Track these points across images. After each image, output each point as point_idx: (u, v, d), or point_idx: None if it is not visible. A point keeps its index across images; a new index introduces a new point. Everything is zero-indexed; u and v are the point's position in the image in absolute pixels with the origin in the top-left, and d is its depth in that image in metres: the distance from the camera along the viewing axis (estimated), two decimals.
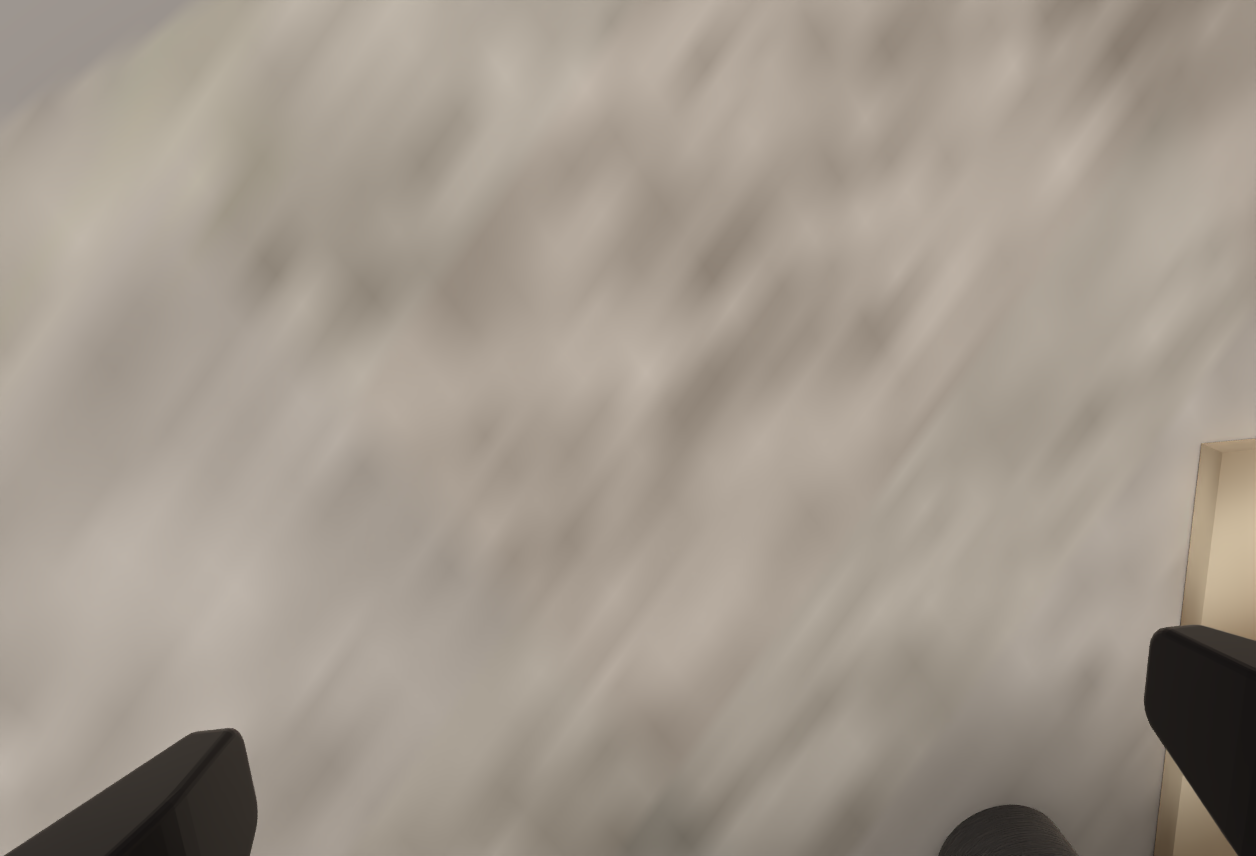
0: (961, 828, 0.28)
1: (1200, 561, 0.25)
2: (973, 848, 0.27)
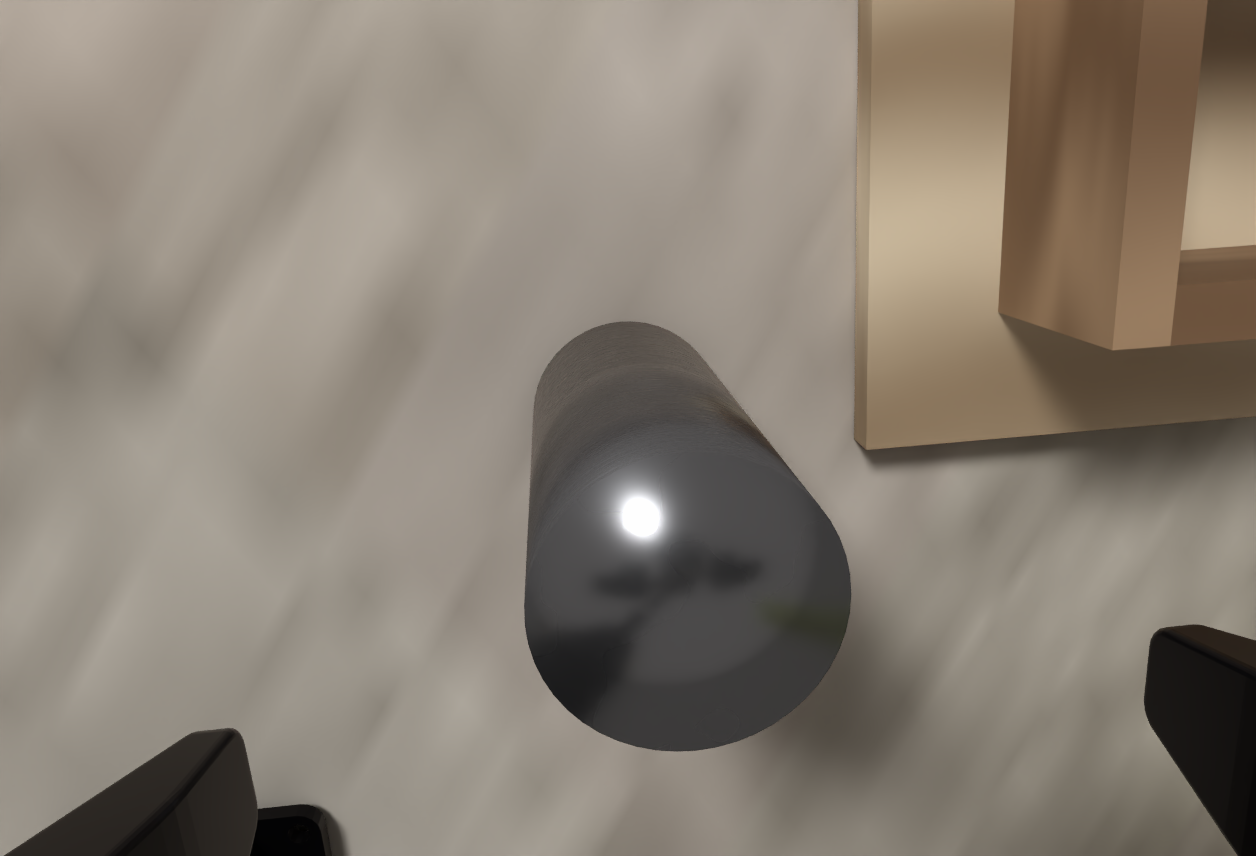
0: (559, 352, 0.19)
1: None
2: (559, 361, 0.18)
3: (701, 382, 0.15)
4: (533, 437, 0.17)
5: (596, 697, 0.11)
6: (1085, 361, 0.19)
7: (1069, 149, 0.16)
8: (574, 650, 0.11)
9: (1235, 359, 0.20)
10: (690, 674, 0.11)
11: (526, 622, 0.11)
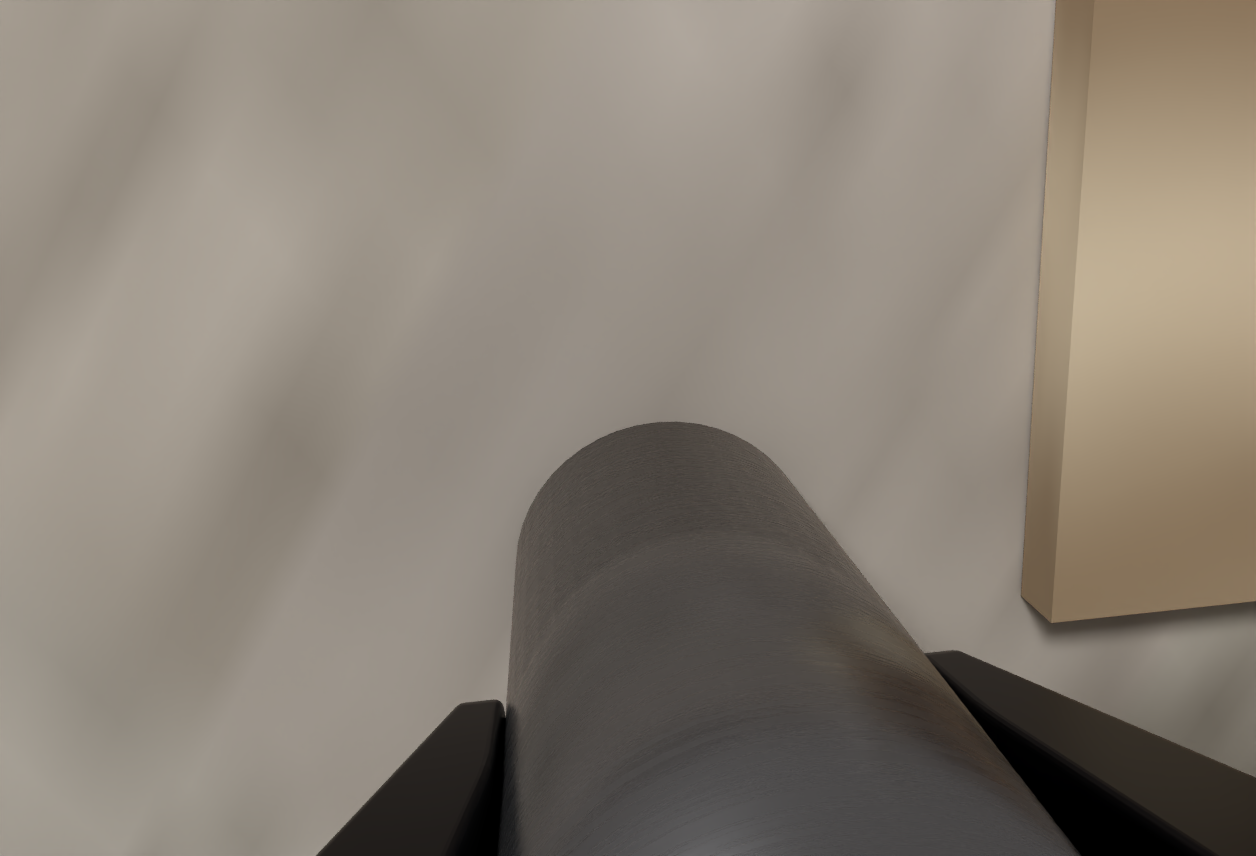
0: (557, 473, 0.12)
1: None
2: (557, 497, 0.11)
3: (845, 606, 0.07)
4: (510, 659, 0.09)
5: None
6: None
7: None
8: None
9: None
10: None
11: None
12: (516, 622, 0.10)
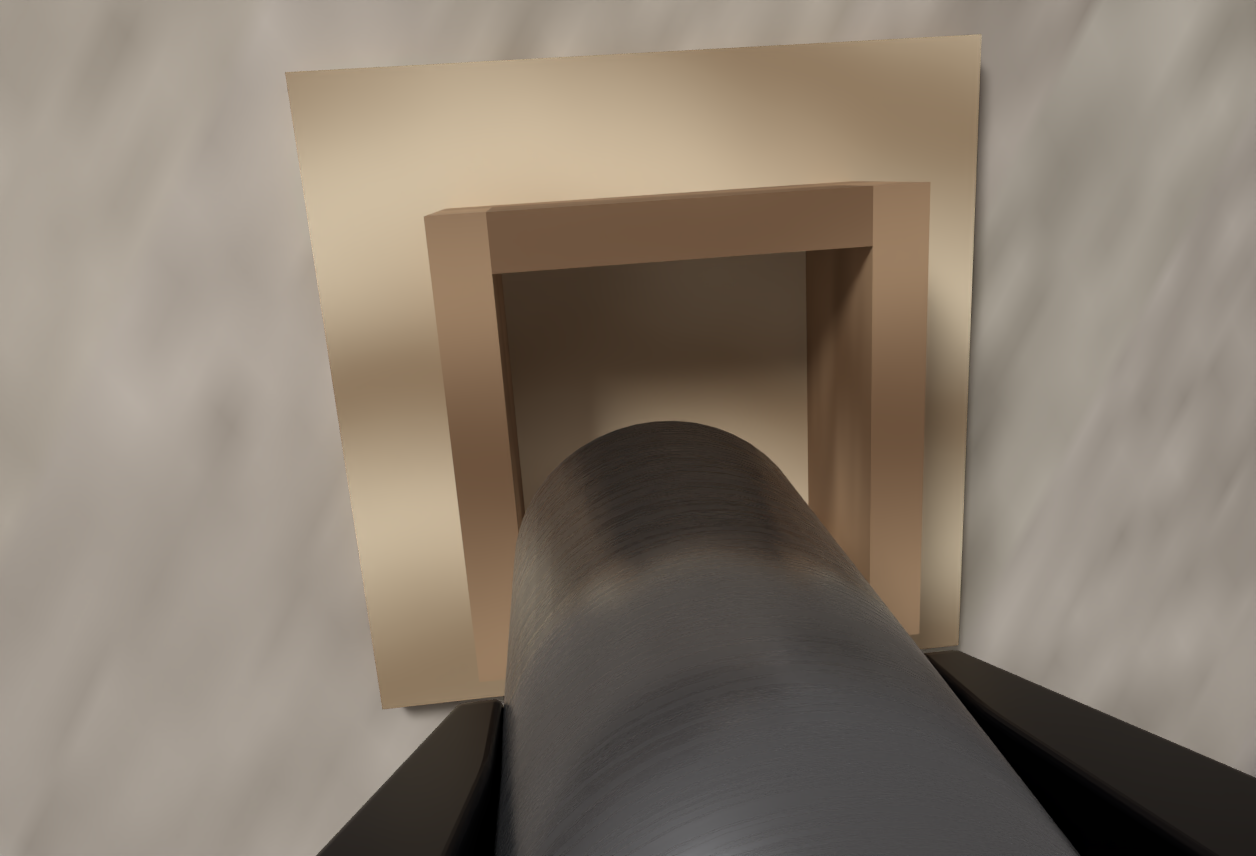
0: (555, 472, 0.12)
1: None
2: (555, 496, 0.11)
3: (843, 605, 0.07)
4: (508, 659, 0.09)
5: None
6: None
7: None
8: None
9: None
10: None
11: None
12: (514, 621, 0.09)
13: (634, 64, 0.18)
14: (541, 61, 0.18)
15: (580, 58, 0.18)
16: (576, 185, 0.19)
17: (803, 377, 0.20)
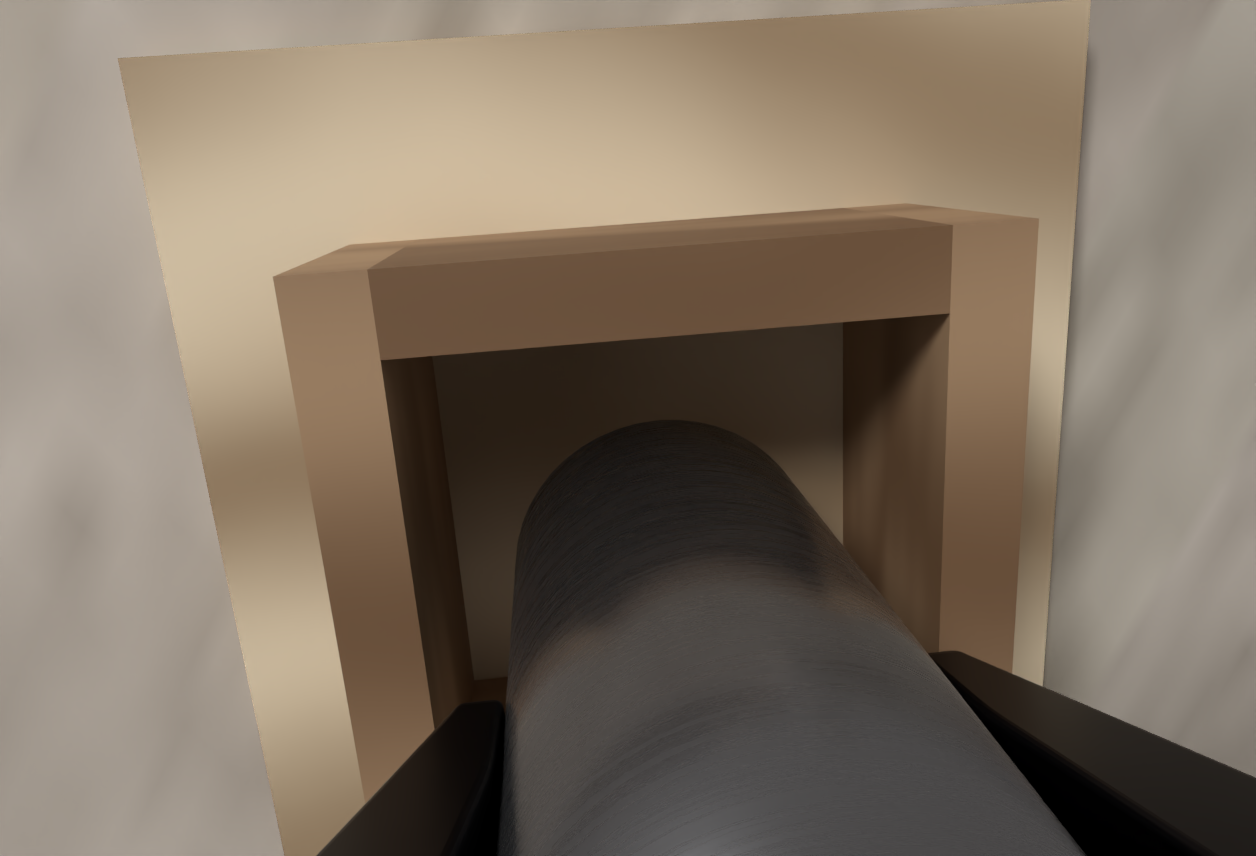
0: (557, 471, 0.12)
1: None
2: (557, 495, 0.11)
3: (847, 604, 0.07)
4: (510, 658, 0.09)
5: None
6: None
7: None
8: None
9: None
10: None
11: None
12: (516, 620, 0.09)
13: (606, 43, 0.13)
14: (477, 40, 0.13)
15: (531, 36, 0.13)
16: (529, 211, 0.14)
17: (838, 463, 0.15)
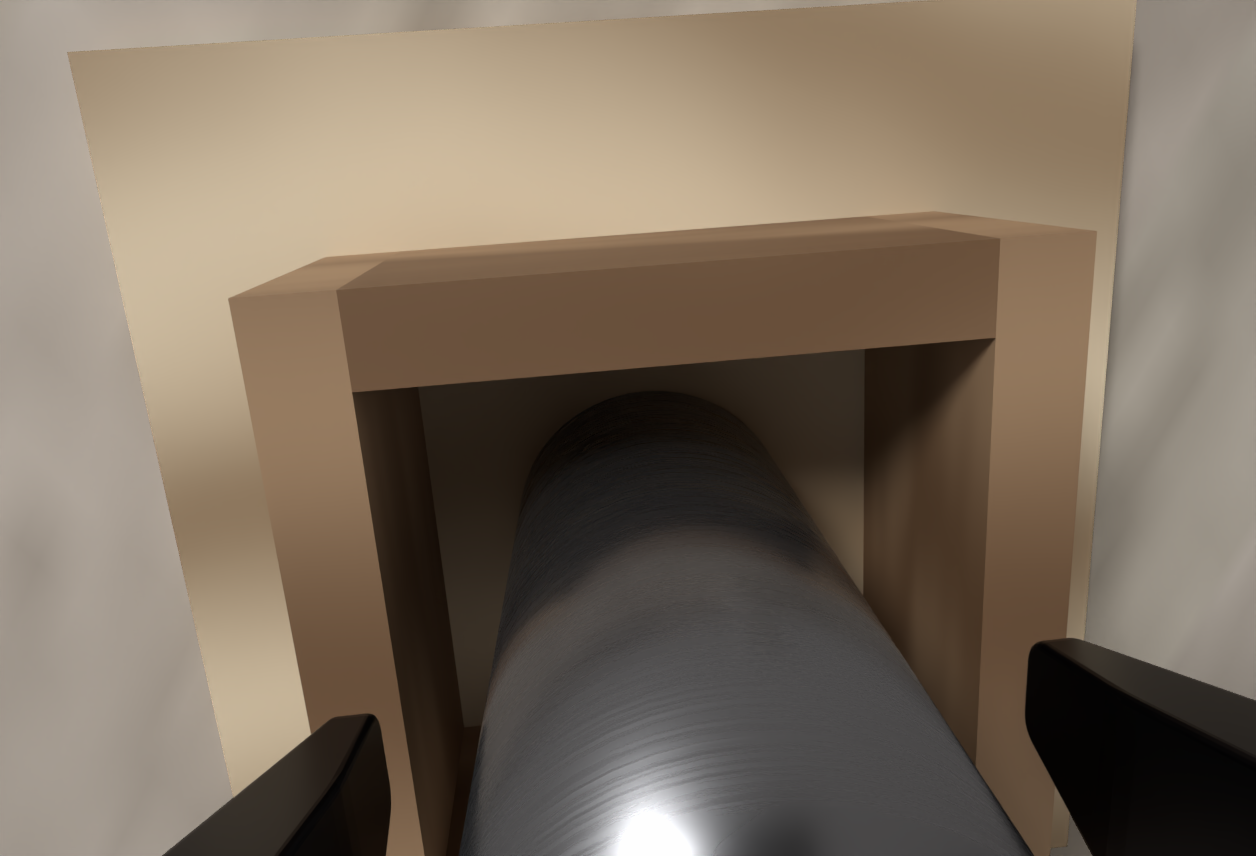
0: (556, 435, 0.13)
1: None
2: (554, 453, 0.12)
3: (774, 527, 0.09)
4: (506, 584, 0.11)
5: None
6: None
7: None
8: None
9: None
10: None
11: None
12: (512, 554, 0.11)
13: (607, 37, 0.12)
14: (464, 33, 0.12)
15: (524, 28, 0.12)
16: (522, 221, 0.13)
17: (858, 493, 0.14)
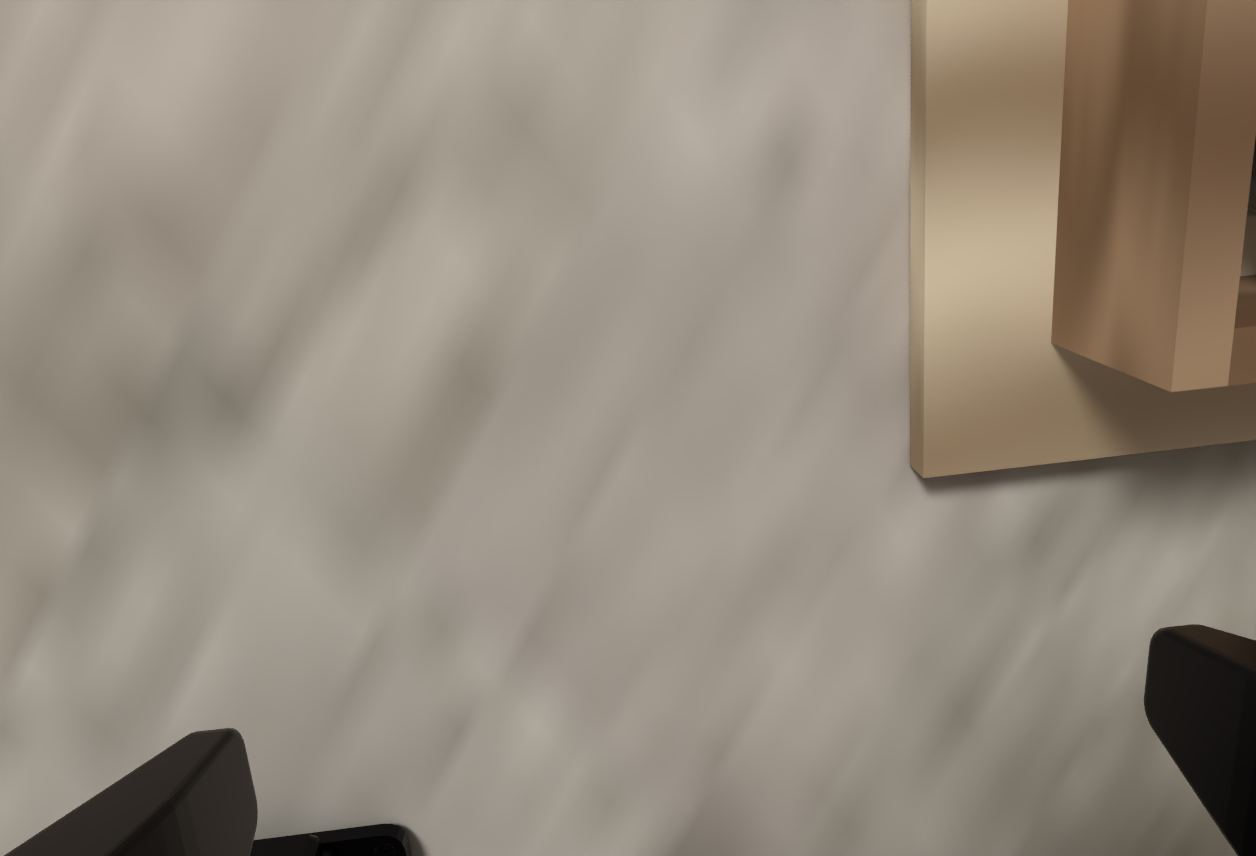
0: None
1: None
2: None
3: None
4: None
5: None
6: (1137, 387, 0.20)
7: (1125, 194, 0.16)
8: None
9: None
10: None
11: None
12: None
13: None
14: None
15: None
16: None
17: None
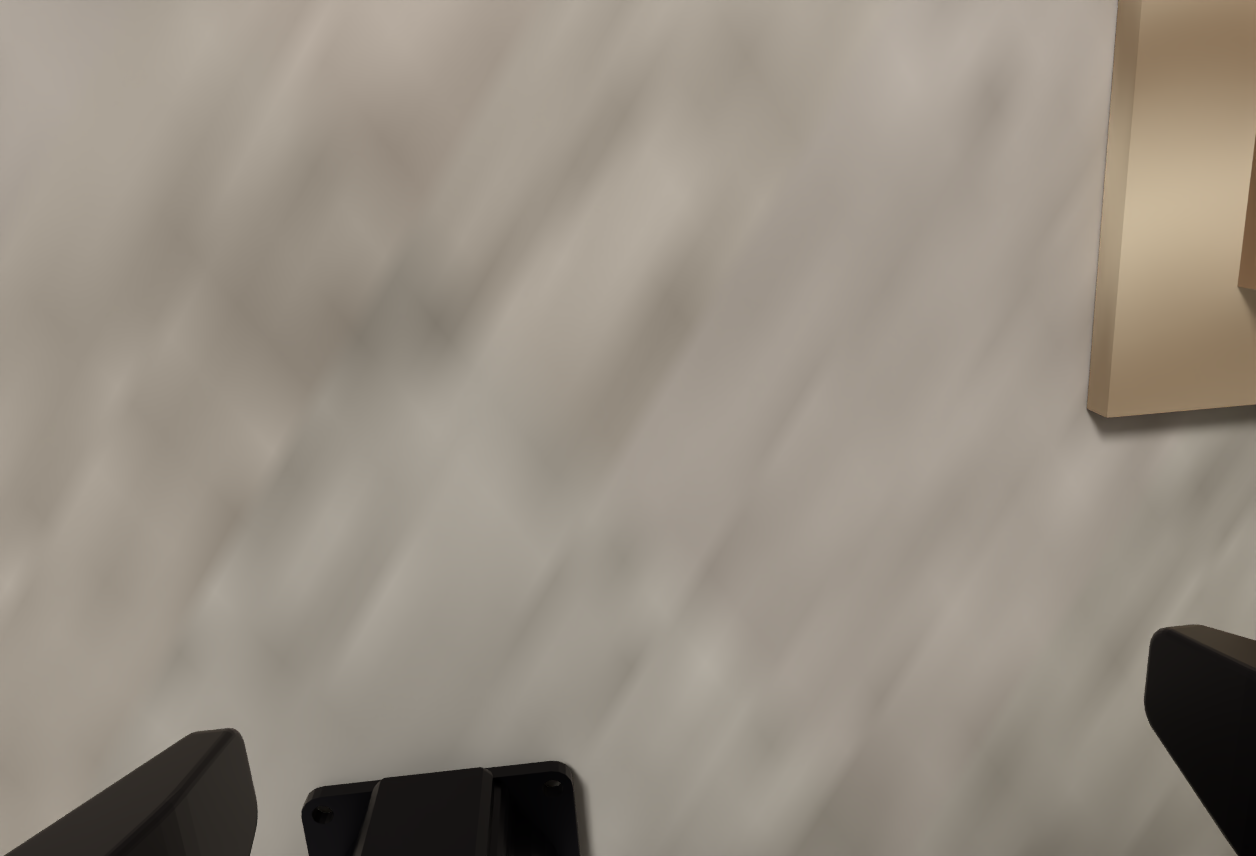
0: None
1: None
2: None
3: None
4: None
5: None
6: None
7: None
8: None
9: None
10: None
11: None
12: None
13: None
14: None
15: None
16: None
17: None
